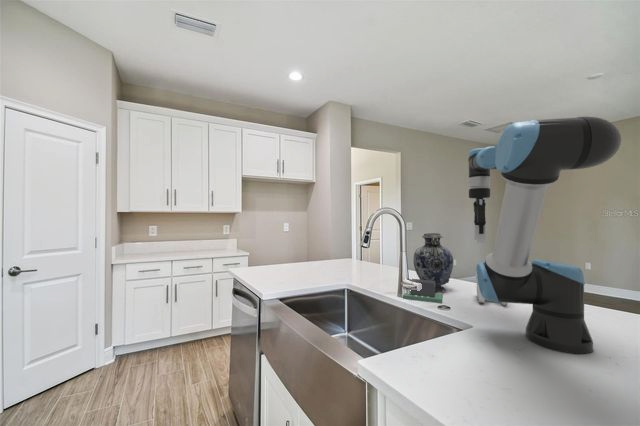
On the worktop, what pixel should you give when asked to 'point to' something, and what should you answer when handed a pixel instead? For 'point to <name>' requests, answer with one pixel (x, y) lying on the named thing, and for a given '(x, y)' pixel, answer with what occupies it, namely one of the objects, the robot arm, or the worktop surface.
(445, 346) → the worktop surface
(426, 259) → the decorative vase
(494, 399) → the worktop surface
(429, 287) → the plug housing
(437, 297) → the header board
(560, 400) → the worktop surface
